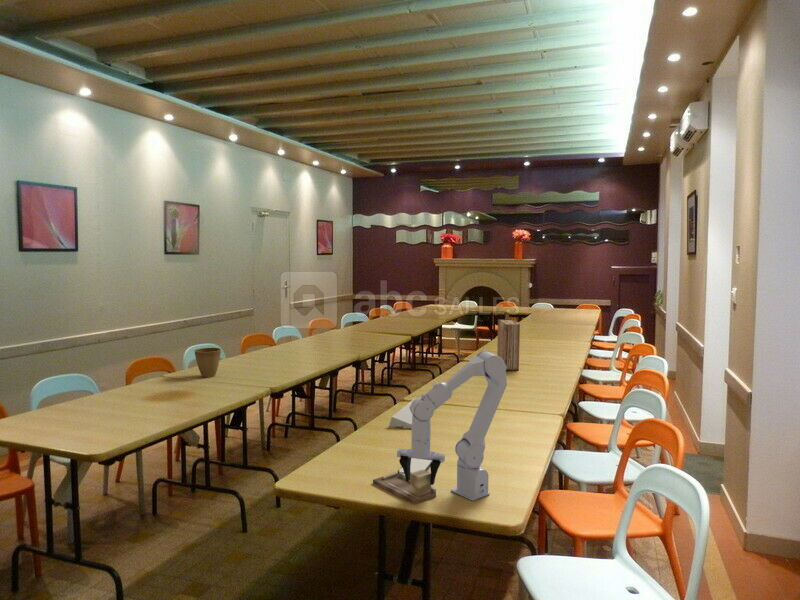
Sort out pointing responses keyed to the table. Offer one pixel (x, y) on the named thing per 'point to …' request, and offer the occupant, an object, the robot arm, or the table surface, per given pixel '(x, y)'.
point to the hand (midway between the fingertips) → (420, 482)
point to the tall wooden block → (509, 342)
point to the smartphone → (417, 465)
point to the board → (401, 487)
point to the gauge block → (420, 483)
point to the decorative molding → (402, 417)
